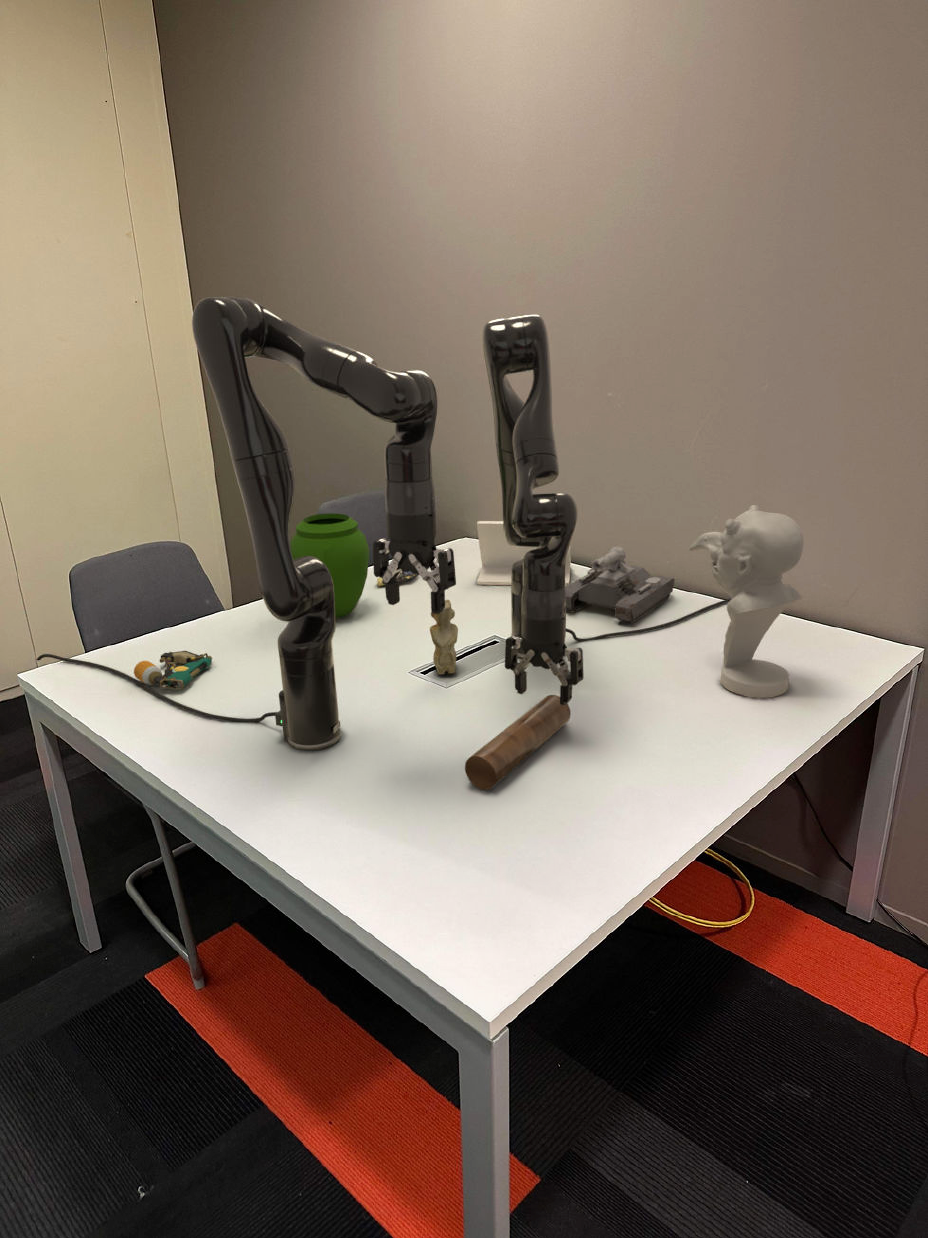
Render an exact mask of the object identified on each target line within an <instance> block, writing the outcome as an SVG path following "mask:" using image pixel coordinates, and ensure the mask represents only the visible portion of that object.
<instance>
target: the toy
mask: <svg viewBox="0 0 928 1238" xmlns="http://www.w3.org/2000/svg"><path fill="white" fill-rule="evenodd" d="M626 557H627V556H626V551H625V549H624V548H622V547H621V546H614V547H612V548H611V549H610V550H609V552H608V553H607V554H605V555H604V556H601V557H599V558H598V559H597V557H596V558H594V559H593V560H592V561H590V562H589V563H590V564H591V565H592V567H591V568H590V569H589V570H587V573H586V575H584V576H582V577H580V578H578V579H577V580H575V581H573V582H570V583H569V585H567V586H565V592H566V607H567V610H566V612H572V613H575V612H577V611H579V610H581V609H582V608H585V607H586V606H588V605H592V606H598V607H602V608H603V607H604V608H609V609H613V610H614V618H615V619H617V620H618V621H621V622H626V623H631V624H634V623H635V622H637V621H638V620H640V619H641V618H642V617H644V616H645V615H647V614H648V613H650V612H651V611H652V610H654V609H655V608H657V607H659V606H660V605H661V604H663V603H664V602H666V601H667V600H669V598H670V596H671V594H672V593H673V591H674V585H675V580H676V579H675V578H673V577H668V576H663V575H656V576H655V577H654V576H651V574H650V573H649V572H648V571H647V570H646V568H644V567H641V566H635V565H629V564H628V563H627V562H626V561H625V559H626Z"/></svg>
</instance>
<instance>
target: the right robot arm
mask: <svg viewBox="0 0 928 1238" xmlns="http://www.w3.org/2000/svg"><path fill="white" fill-rule="evenodd" d="M482 349H483V356H484V361H485V368H486V373H487V378H488V379H487V380H488V385H489V390H490V396H491V403H492V413H493V424H494V439H495V448H496V457H497V463H498V469H499V477H500V483H501V484H500V487H501V497H502V498H501V499H502V500H501V501H502V502H501V503H502V521H503V528H504V535H505V539H506V541H507V543H508V544H509V545H512V546H517V547H522V546H523V547H539V548H537V549H534V550H531V551H529V552H527V553H526V554H525V555H524V558H523V559H521V560H518V561H516V562H515V563H513V565H512V567H511V585H510V588H511V589H510V597H511V599H510V603H511V604H510V606H511V607H510V609H511V610H510V615H511V617H510V618H511V621H510V622H511V635H510V636H509V637H507V638H506V640H505V650H504V668H505V669H506V670H510V671H512V672H513V674H514V688H515V691H516V693H517V694H518V695H523V694H524V693H526V692H527V690H528V672H527V671H526V670H527V669H528V667H529V666H530V665H532V667H535V668H542V669H544V670H548V671H549V670H550V671H551V673H552V674H553V676H555V677H556V678H557V679H558V681H559V682H560V684H561V685H560V686H559V696H560V704H561V705H566V704H569V702H570V701H572V699H573V686H577V685H578V684H579V683H580V682H582V681H583V680H584V676H585V675H584V651H583V649H582V648H581V647H576V648H568V647H567V645H566V635H567V633H569V634H570V635H571V636H572V639H573V640H574V641H576V642H579V643H581V642H589V641H597V640H601V639H605V638H610V637H617V636H625V635H633V634H639V633H646V632H651V631H654V630H658V629H663V628H665V627H668V626H671V625H675V624H677V623H681V622H682V621H685V620H687V619H689V618H692V617H694V616H697V615H698V614H701V613H703V612H705V611H708V610H710V609H713V608H716V607H718V606H720V605H723V604H728V603H729V601H730V600H731V599H732V598H726V599H724V600H720V601H718V602H715V603H712V604H710V605H707V606H705V607H702V608H700V609H698V610H696V611H694V612H691V613H688V614H687V615H684V616H682V617H680V618H679V617H678V618H677V619H674V620H672V621H669V622H666V623H662V624H658V625H655V626H650V627H645V628H640V629H633V630H627V631H625V630H624V631H617V632H616V631H615V632H609V633H604V634H600V635H597V636H593V637H589V638H582V637H577V634H576V632H574V630H572V629H570V628H567V611H566V610H567V607H566V592H565V587H566V586H565V564H566V557H567V553H568V549H569V545H570V546H571V541H572V538H573V535H574V533H575V530H576V527H577V526H576V525H577V523H578V507H577V506H578V505H577V503H576V500H575V499H574V498H573V497H572V496H571V494H569V493H566V492H549V493H533V490H534V489H537V488H540V487H543V486H546V485H548V484H551V483H553V482H554V481H556V479H558V477H559V473H560V467H559V466H560V465H559V459H558V453H557V452H558V451H557V447H556V440H555V434H554V433H555V432H554V426H553V425H554V424H553V423H554V422H553V396H552V395H553V391H552V389H553V388H552V371H551V369H552V368H551V355H550V343H549V336H548V330H547V326H546V323H545V320H544V318H543V317H541V316H540V315H539V314H524V315H517V316H512V317H511V316H510V317H505V318H498V319H492V320H490V321H487V322H486V323H485V325H484V326H483V330H482ZM527 372H528V373H529V372H532V383H531V387H530V390H529V393H528V395H527V399H526V400H525V401H524V400H522V398H521V397H520V396H519V395H518V394H517V392H516V391H515V390H514V388H513V387H512V385H511V383H510V381H509V379H508V377H507V375H514V374H521V373H527ZM565 656H566V657H567V661H566V659H565ZM518 658H521V659H520V661H519V660H518ZM518 661H519V662H518ZM568 662H569V664H568ZM558 665H559V666H558Z"/></svg>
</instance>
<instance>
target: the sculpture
mask: <svg viewBox="0 0 928 1238" xmlns="http://www.w3.org/2000/svg"><path fill="white" fill-rule="evenodd" d="M455 615H456V611H455V609H453V608H452V602H451V601H450V599H445V608H444V609H443V611H442V612H440V613H439V614H432V612H430V617H431V618H432V619H433V620H434V621H435V622H436V623H435V624H433V625H431V626H429V633H430V636H431V640H432V641H431V642H432V643H433V645H434V648H435V649H434V652H433V656H432V657H433V659H432V660H433V665H434V667H435V668H436V671H437V674H438V675H445V674H446V672H447V673H448V674H455V673H456V666H457V665H456V663H457V652H456V649H455V644H456V643H457V642H458V637H459V635H458V634H459V627H458V626H457V624H455V623H453V622H451V621H452V620H453V619H454V618H455Z"/></svg>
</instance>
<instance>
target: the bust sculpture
mask: <svg viewBox="0 0 928 1238" xmlns="http://www.w3.org/2000/svg"><path fill="white" fill-rule="evenodd" d="M724 526H725V527H724V528H725V529H724V531H723V532H719V531H708V532H705V533H703V534H701V535H699V537H698V538H696V540H695V541H694V542H693V543H692V544H691V545H690V546H689V548H688V550H689V551H690V552H694V551H699V550H702V549H703V550H708V555H709V557H710V559H711V560H712V563H710V570H711V572H712V575H713V578H714V579H715V581H716V583H717V585H718V586H719V587H720V589H722V591H724V592H726V593H727V595H728V596H730V597H731V598H730V599H731V600H730V601H729V602H727V605H726V612H727V614H728V617H729V620H730V621H729V625H728V626H727V630H726V632H725V635H724V637H725V638H724V643H723V663H722V664H723V665H722V666H721V669H720V684H721V685H722V687H724V688H725V689H726V690H727V691H730V692H731V693H734V694H737V695H740V696H745V697H750V698H765V699H766V698H773V697H774V698H775V697H778V696H781V695H783V694H785V693H786V692H787V691H788V688H789V681H790V674H789V671H788V670H787V669H786V668H784V667H783V666H781V665H779V664H777V663H774V662H771V661H768V660H762V659H755V658H754V656H755V653H756V651H757V649H758V647H759V646H760V643H761V642H762V640H763V638H764V637H765V635H766V634H767V632H768V631H769V629H770V628H771V626H773V623H774V622H775V621H776V619H777V618H778V617H779V616H780V615H781V614H782V613H783V612H785V610H786V609H787V608H788V607H790V606H791V605H793V604H794V603H795V602H796V601H799V600H801V599H803V597H802V595H801V594H800V592H799V590H798V589H797V588H796V587H795V586H794V585H792V584H790V583H784V582H783V581H782V580H783V574H786V573H787V572H789V571H791V570H792V569H793V568H794V567H796V565H797V564H798V563H799V562H800V560H801V558H802V555H803V550H804V535H803V531H802V529H801V527H800V526H799V524H798V523H797V522H796V521H795V520H794V519H792V517H790V516H788V515H787V514H784V513H777V512H766V511H762V510H761V509H760V508H759V506H758V505H757V504H755V505H750V507H749V508H748V510H746V511H744V512H743V513H740V515H738V516H737V517H735V519H733V518H729V519H727V520H726V521H725V524H724Z"/></svg>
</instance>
